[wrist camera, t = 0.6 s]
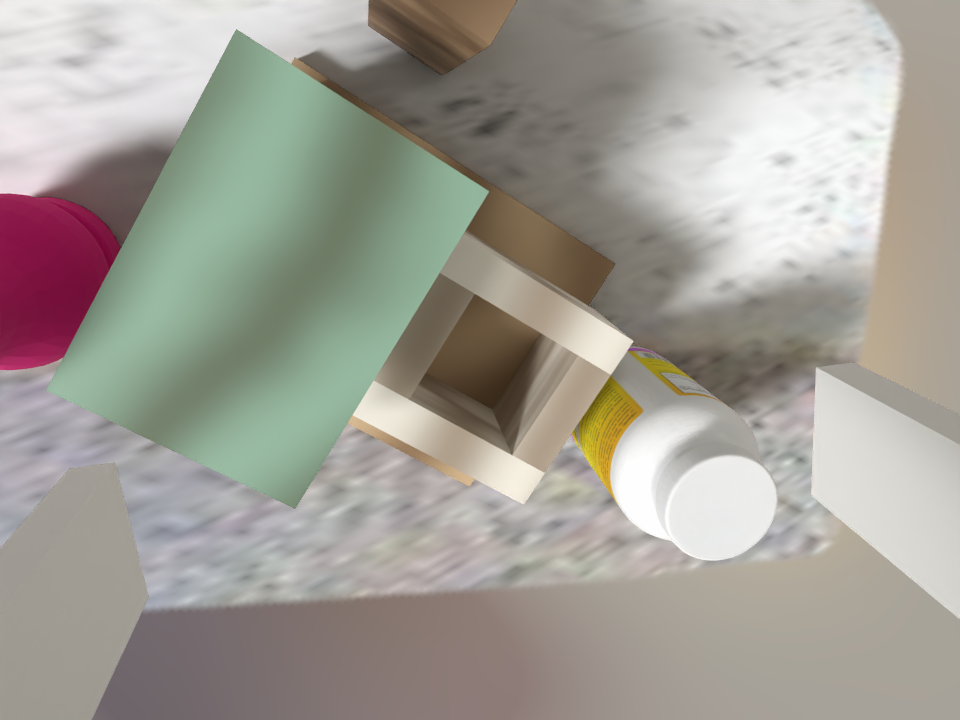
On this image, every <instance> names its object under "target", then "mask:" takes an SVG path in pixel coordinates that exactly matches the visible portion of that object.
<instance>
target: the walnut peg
mask: <svg viewBox="0 0 960 720" xmlns="http://www.w3.org/2000/svg"><path fill="white" fill-rule="evenodd" d="M516 1H517V0H369V14H368V26H370V27H371V28H372V29H374V30H375V31H377V32H378V33H380V34H381V35H383V36H384V37H386V38H387V39H389V40H390V41H392V42H393V43H395V44H396V45H398V46H399V47H401V48H402V49H404V50H405V51H407V52H408V53H410V54H411V55H412V56H414V57H415V58H417V59H418V60H420V61H421V62H423V63H424V64H426V65H427V66H429V67H430V68H432V69H433V70H435V71H436V72H438V73H439V74H441V75H442V76H443V75H445V74H446V73H448V72H449V71H451V70H453V69H454V68H456V67H457V66H459V65H460V64H462V63H463V62H465V61H467V60H468V59H470V58H471V57H473V56H474V55H476V54H478V53H479V52H481V51H482V50H484V49H485V48H487V47H489V46H490V45H491V44H492V42H493V40H494V38H495V37H496V35H497V33H498V32H499V30H500V28H501V27H502V25H503V23H504V22H505V20H506V18H507V16H508V15H509V13H510V11H511V10H512V8H513V6H514V5H515V3H516Z"/></svg>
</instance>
